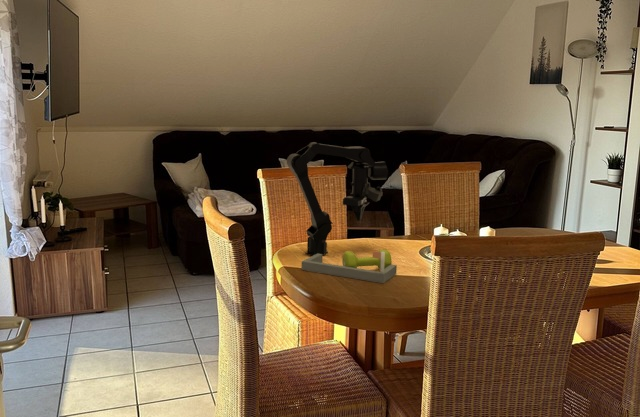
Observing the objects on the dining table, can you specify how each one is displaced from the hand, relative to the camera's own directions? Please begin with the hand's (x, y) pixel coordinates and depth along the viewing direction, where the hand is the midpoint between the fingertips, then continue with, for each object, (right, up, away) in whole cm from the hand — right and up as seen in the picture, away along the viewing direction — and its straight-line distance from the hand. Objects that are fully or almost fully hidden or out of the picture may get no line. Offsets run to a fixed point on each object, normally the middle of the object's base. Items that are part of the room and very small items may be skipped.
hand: (359, 220), depth 227 cm
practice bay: (-5, -17, -25) cm, 31 cm away
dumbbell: (+1, -17, -24) cm, 29 cm away
